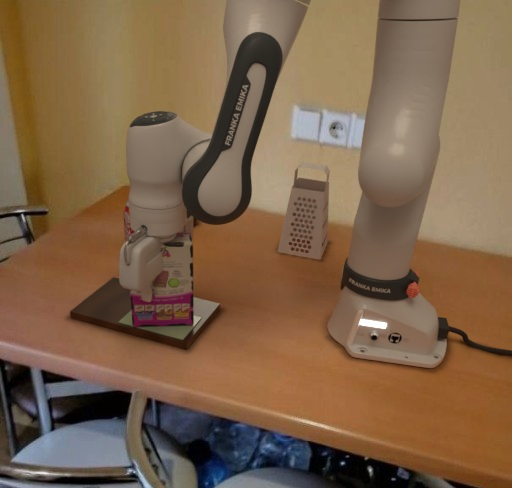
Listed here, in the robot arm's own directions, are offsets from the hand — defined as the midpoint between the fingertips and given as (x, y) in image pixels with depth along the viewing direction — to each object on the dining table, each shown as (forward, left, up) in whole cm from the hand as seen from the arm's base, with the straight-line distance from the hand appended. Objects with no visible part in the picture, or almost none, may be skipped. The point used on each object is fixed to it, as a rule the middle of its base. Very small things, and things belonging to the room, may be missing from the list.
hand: (159, 289), depth 100 cm
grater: (-14, -46, -8) cm, 49 cm away
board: (+4, -3, -8) cm, 10 cm away
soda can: (+18, -25, -8) cm, 33 cm away
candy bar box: (0, 0, -7) cm, 7 cm away
